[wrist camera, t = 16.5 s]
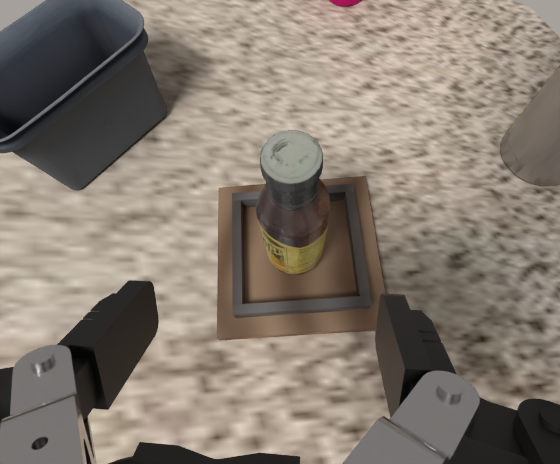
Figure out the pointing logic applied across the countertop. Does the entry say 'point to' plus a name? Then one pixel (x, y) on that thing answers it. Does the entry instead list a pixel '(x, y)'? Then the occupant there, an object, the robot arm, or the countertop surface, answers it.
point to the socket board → (298, 288)
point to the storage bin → (76, 87)
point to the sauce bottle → (293, 202)
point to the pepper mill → (345, 2)
